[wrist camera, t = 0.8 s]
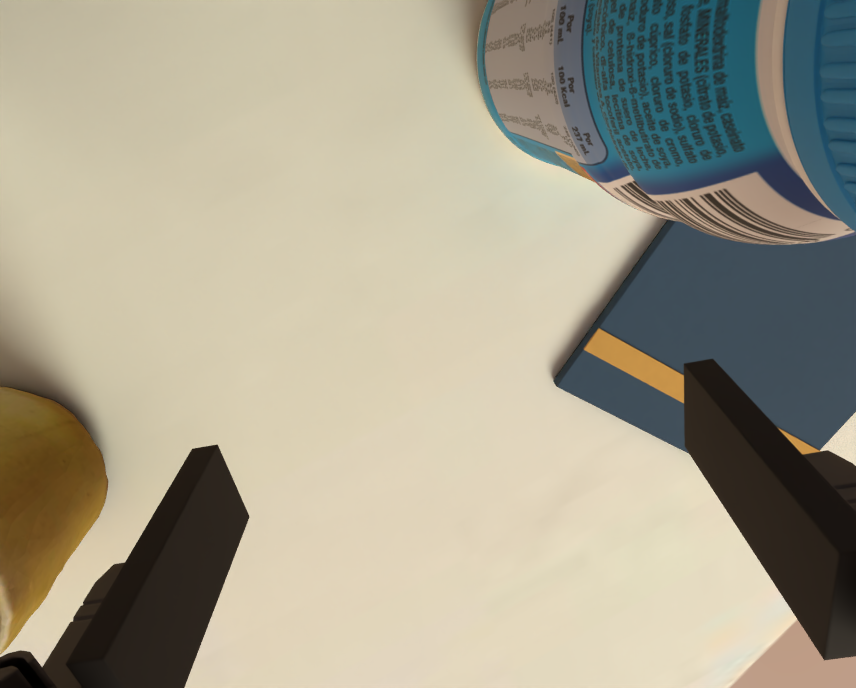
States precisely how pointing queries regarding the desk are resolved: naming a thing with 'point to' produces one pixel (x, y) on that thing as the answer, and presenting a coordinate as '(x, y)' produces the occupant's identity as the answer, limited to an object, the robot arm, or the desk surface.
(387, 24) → the desk surface
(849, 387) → the tea towel
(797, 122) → the beverage bottle
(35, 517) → the mug
